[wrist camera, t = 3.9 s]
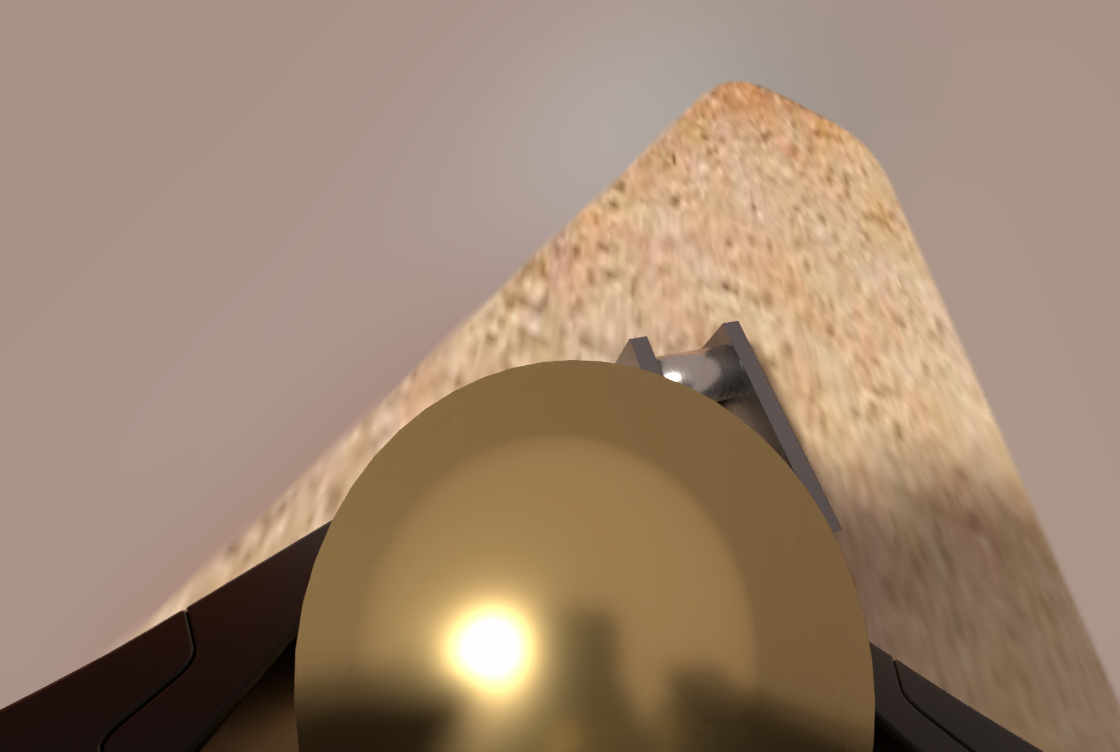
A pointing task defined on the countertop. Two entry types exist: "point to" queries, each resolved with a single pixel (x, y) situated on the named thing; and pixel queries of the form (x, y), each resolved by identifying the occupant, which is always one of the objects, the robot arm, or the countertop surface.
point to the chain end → (734, 394)
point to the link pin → (581, 583)
